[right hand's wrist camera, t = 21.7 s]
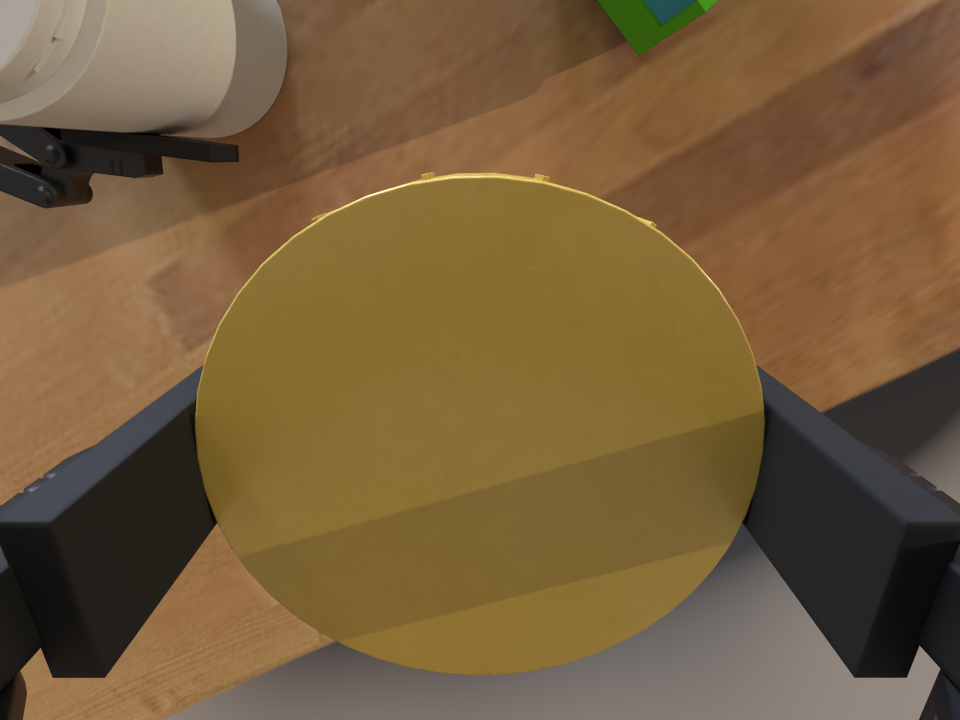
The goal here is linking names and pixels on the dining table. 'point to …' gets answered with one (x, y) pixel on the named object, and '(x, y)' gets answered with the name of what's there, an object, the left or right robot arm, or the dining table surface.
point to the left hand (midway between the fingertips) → (219, 19)
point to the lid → (479, 424)
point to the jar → (141, 64)
